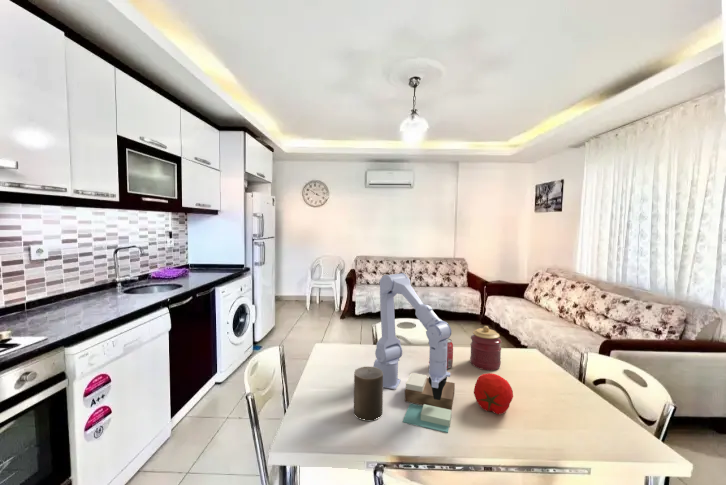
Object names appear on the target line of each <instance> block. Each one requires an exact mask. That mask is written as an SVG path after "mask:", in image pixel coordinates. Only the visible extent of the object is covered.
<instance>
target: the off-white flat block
mask: <svg viewBox="0 0 726 485" xmlns="http://www.w3.org/2000/svg"><path fill="white" fill-rule="evenodd" d="M427 378H428V375H427V374H421V373H416V372H410V375H409V377H408V379H407V381H406V383H405V390H406V389H408V390H414V391H419V392H423V390H424V387H425V384H426V381H427Z"/></svg>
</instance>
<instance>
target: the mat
mask: <svg viewBox="0 0 726 485" xmlns="http://www.w3.org/2000/svg"><path fill="white" fill-rule="evenodd" d="M407 407H408V408H407V409H406V412H405V414H404V417H403V419H402V423H404V424H408V425H413V426H417V427H420V428H425V429H429V430H432V431H433V430H434V431H438V432H442V433H447V434H448V433H449V428H450V427H448V426H444V425H440V424H435V423H431V422H426V421H422V420H421V412H422V409H423V405H420V404H415V403H411V402H409V405H408V406H407Z"/></svg>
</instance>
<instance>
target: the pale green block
mask: <svg viewBox="0 0 726 485" xmlns="http://www.w3.org/2000/svg"><path fill="white" fill-rule="evenodd" d="M422 406H423V409H422V412H421V420H422V421H426V422H431V423H435V424H440V425H444V426H448V427H449V428H450V427H451V420H452V410H453V409H452V410H449V409H445V408H440V407H435V406H430V405H426V404H424V405H422Z"/></svg>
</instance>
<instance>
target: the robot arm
mask: <svg viewBox="0 0 726 485" xmlns="http://www.w3.org/2000/svg"><path fill="white" fill-rule="evenodd" d="M398 294H399V295H402V296H403V297H404V298H405V299H406V301H407V302H408V303H409V304H410V306H412V307H413V309H414V310H415V316H416V318H417V319H418V321H419V322H420V323H421V324H422V326H423V327H424V328H425V330H426V331H425V333H426V334H425V336H426V337H427V339H428V344H429V357H428V358H429V361H428V362H429V364H428V365H429V366H428V375H429V377H428V378H429V379H428V381H429V383H430V385H431V388H432V392H433V397H434V399H436V400H440V399H441V395H442V390H443V387H444V386H445V384H446V382H447V380H448V378H451V372H448V369H447V343H448V338H449V339H450V338H451V335H452V328H451V326H450V325H449V323H448V322H447V321H444V320H442V319H441V318H440V317H439V316H438V315H437V314H436V313H435V312H434V310H433V308H432V306H431V305H429V304H424V302H423V300H421V298H420V297H419V295H418V293H416V290H415V289H414V287H413V286H412V285H411V279H410V278H409V277H408V275H407V274H406V273H404V272H400V273H394V274H384V275H383V276H382V277H381V278H380V279H379V304H380V306H379V307H380V308H379V309H380V323H381V325H380V326H381V327H380V328H381V337H380V338H379V339H378V341H377V342H376V347H375V351H374V352H375V353H374V354H375V358H376V359H375V360H374V362H373V366H372V367H376V368H378V369H380V370H382V372H383V388H386V389H392V390H397V388H398V386H399V384H400V382H401V378H398V377H399V376H398V375H399V361H400V358H402V356H403V348H402V345H401V340H400V339H399V338H398V337H397V336H396V318H395V299H394V298H395V296H396V295H398ZM445 339H446V340H445ZM447 377H448V378H447Z"/></svg>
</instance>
